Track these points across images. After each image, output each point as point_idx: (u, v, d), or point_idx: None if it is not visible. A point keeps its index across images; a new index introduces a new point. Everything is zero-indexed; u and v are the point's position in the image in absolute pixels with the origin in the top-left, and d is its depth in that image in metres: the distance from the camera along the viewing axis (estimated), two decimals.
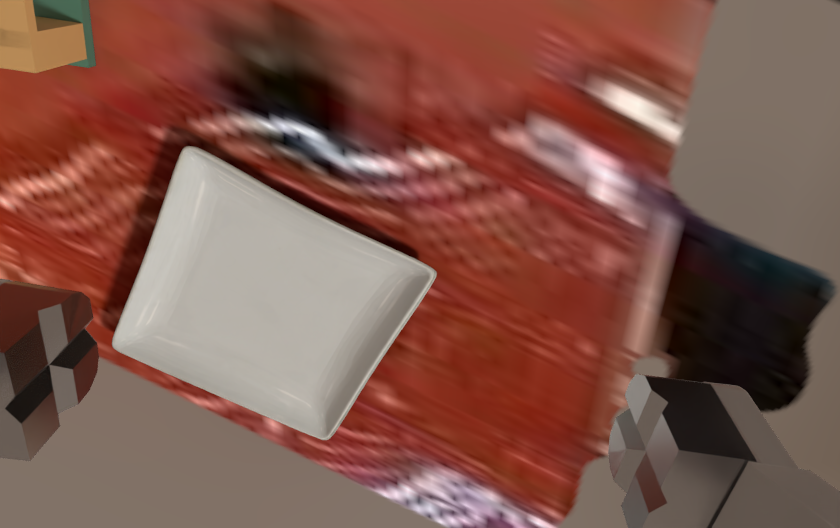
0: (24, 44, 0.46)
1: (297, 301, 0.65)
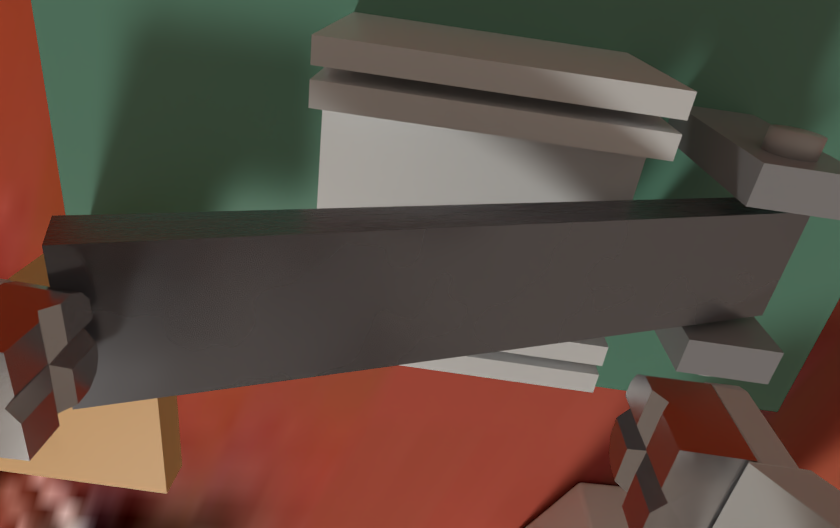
0: (30, 462, 0.16)
1: None
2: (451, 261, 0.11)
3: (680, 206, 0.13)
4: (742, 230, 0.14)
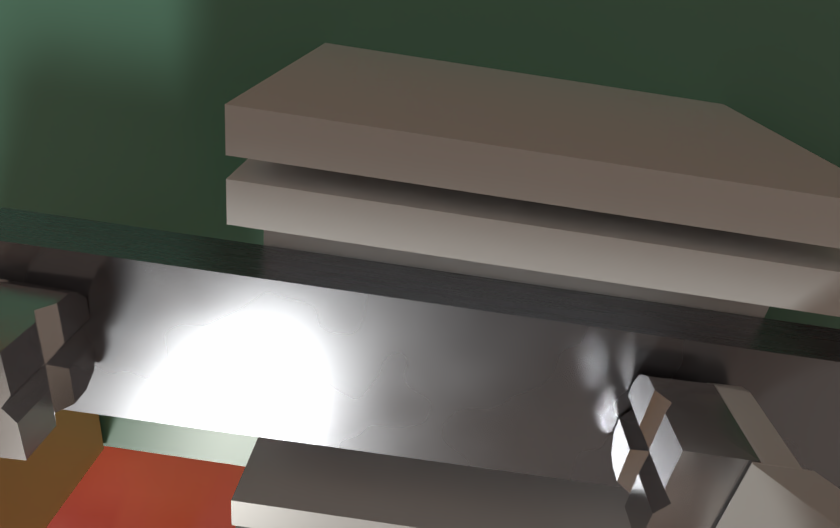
0: None
1: None
2: (405, 340, 0.09)
3: (798, 336, 0.09)
4: None
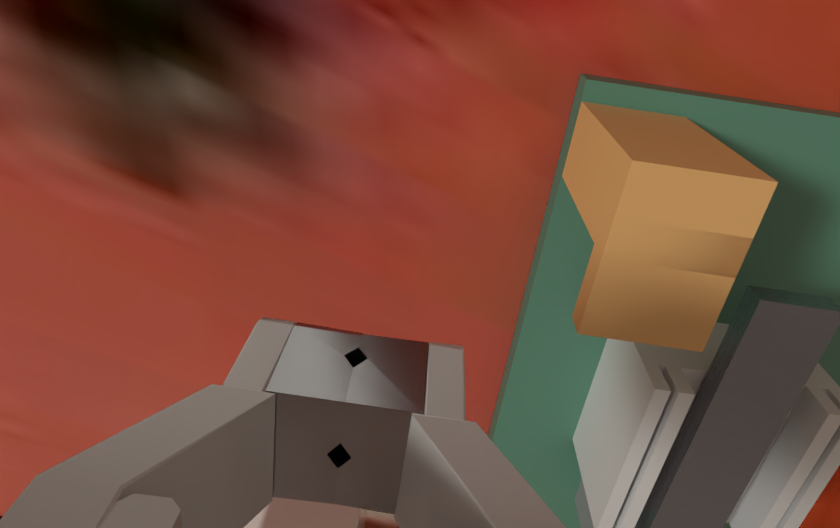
0: (627, 232, 0.17)
1: None
2: (751, 445, 0.23)
3: None
4: None
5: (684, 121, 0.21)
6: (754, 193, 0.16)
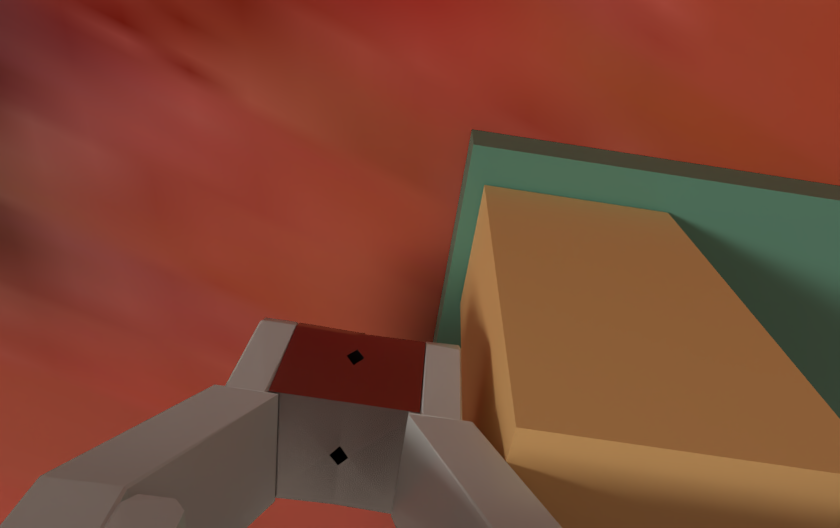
0: None
1: None
2: None
3: None
4: None
5: (665, 227, 0.12)
6: (828, 501, 0.06)
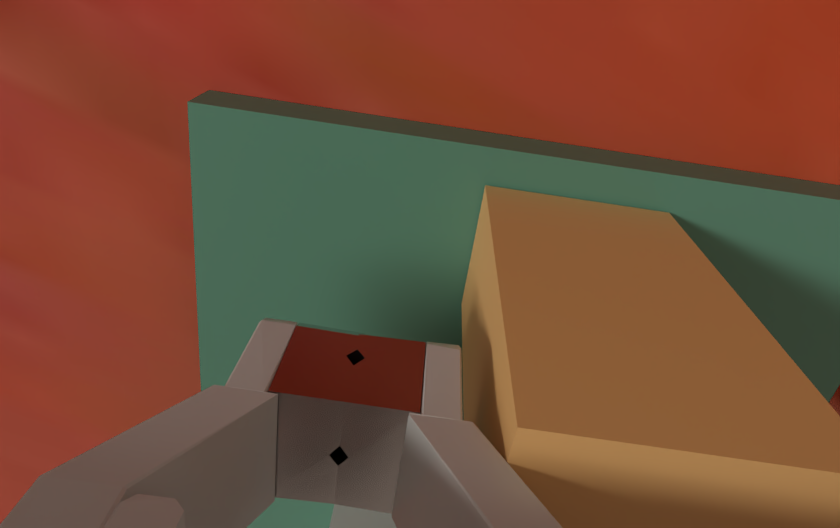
0: None
1: None
2: None
3: None
4: None
5: (666, 227, 0.12)
6: (830, 501, 0.06)
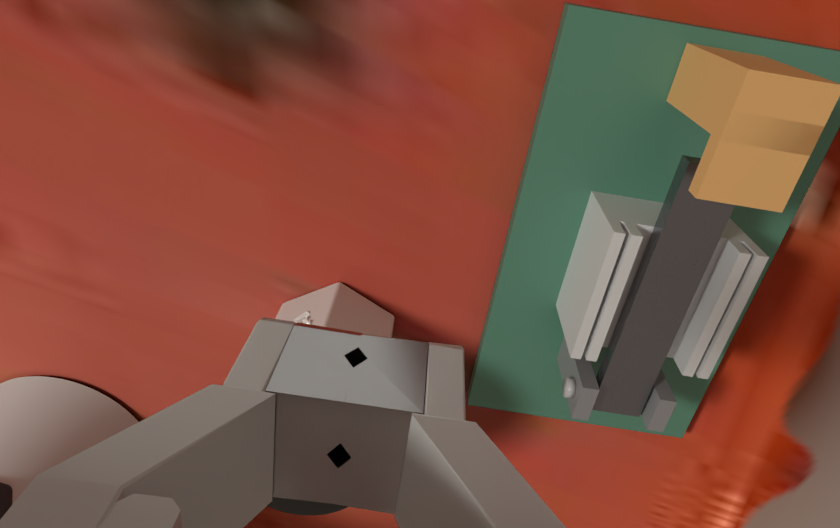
0: (739, 122, 0.25)
1: None
2: (686, 283, 0.31)
3: None
4: (644, 389, 0.35)
5: (764, 57, 0.29)
6: (828, 93, 0.24)
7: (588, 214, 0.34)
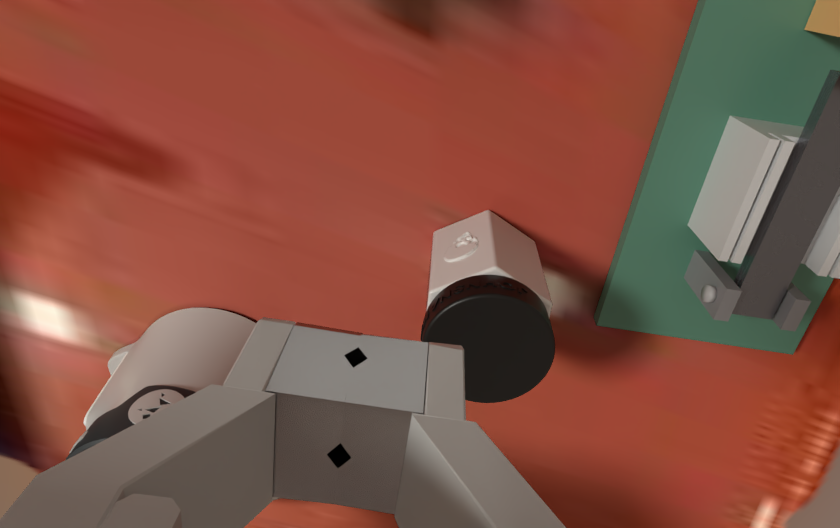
0: None
1: None
2: (827, 187, 0.36)
3: None
4: (779, 292, 0.39)
5: None
6: None
7: (728, 136, 0.39)
